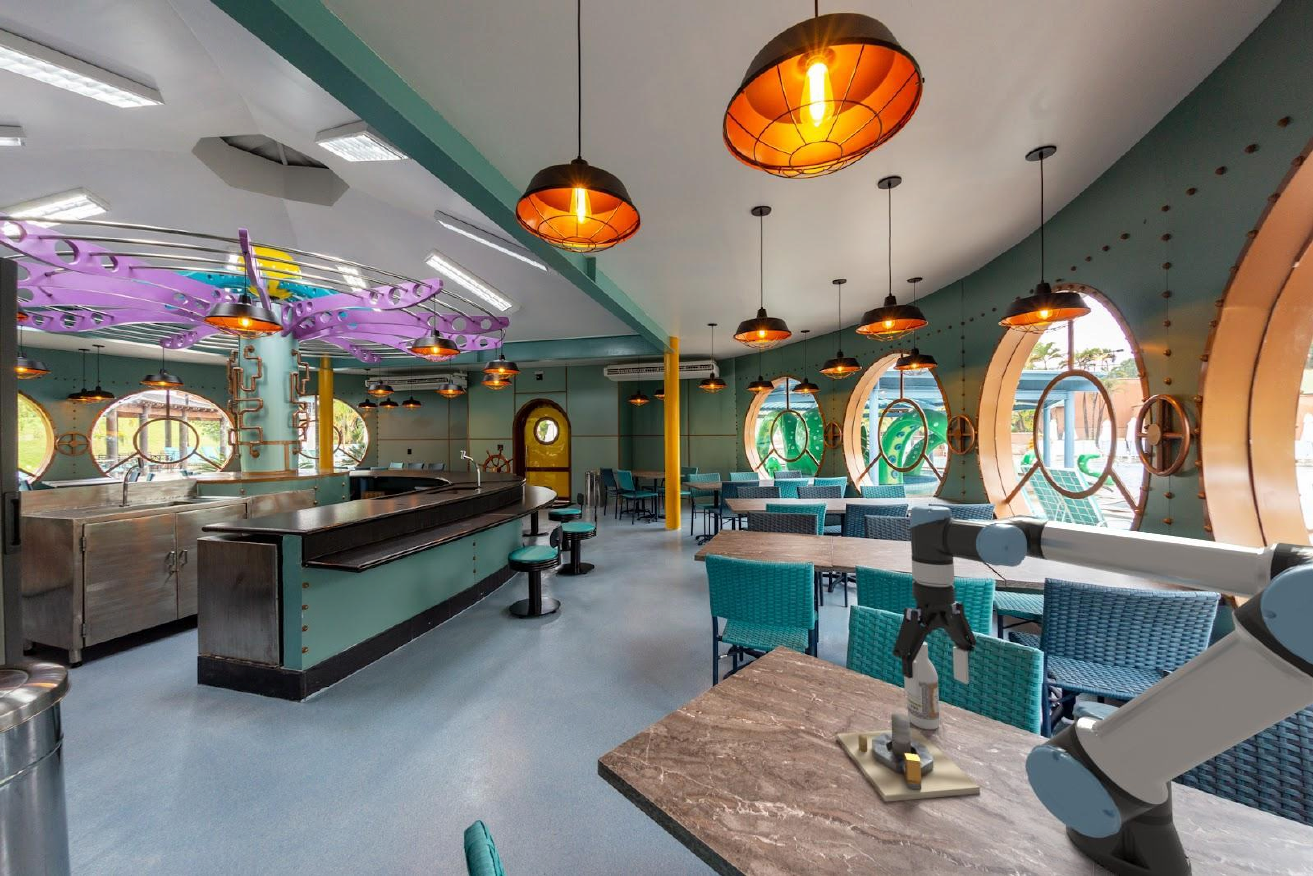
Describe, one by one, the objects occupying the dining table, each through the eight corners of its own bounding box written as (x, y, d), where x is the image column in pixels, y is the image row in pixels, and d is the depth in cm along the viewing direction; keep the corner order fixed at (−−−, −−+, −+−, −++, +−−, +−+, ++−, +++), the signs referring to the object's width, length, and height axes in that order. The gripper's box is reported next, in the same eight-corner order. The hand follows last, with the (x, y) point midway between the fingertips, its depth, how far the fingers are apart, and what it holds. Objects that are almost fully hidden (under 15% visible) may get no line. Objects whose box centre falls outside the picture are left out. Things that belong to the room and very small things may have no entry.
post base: (979, 793, 93) (978, 742, 93) (885, 801, 91) (883, 750, 91) (915, 733, 113) (913, 691, 113) (836, 739, 111) (835, 696, 111)
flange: (869, 738, 109) (868, 713, 109) (922, 745, 106) (921, 720, 106) (884, 784, 94) (883, 756, 94) (946, 793, 91) (945, 764, 91)
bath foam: (934, 734, 112) (932, 650, 113) (904, 722, 117) (901, 642, 118) (943, 722, 117) (940, 642, 118) (913, 711, 122) (910, 635, 123)
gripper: (959, 571, 103) (964, 668, 102) (871, 583, 95) (874, 689, 94) (993, 579, 96) (998, 684, 95) (901, 593, 88) (905, 708, 87)
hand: (937, 687), depth 95 cm, fingers open, 13 cm apart
